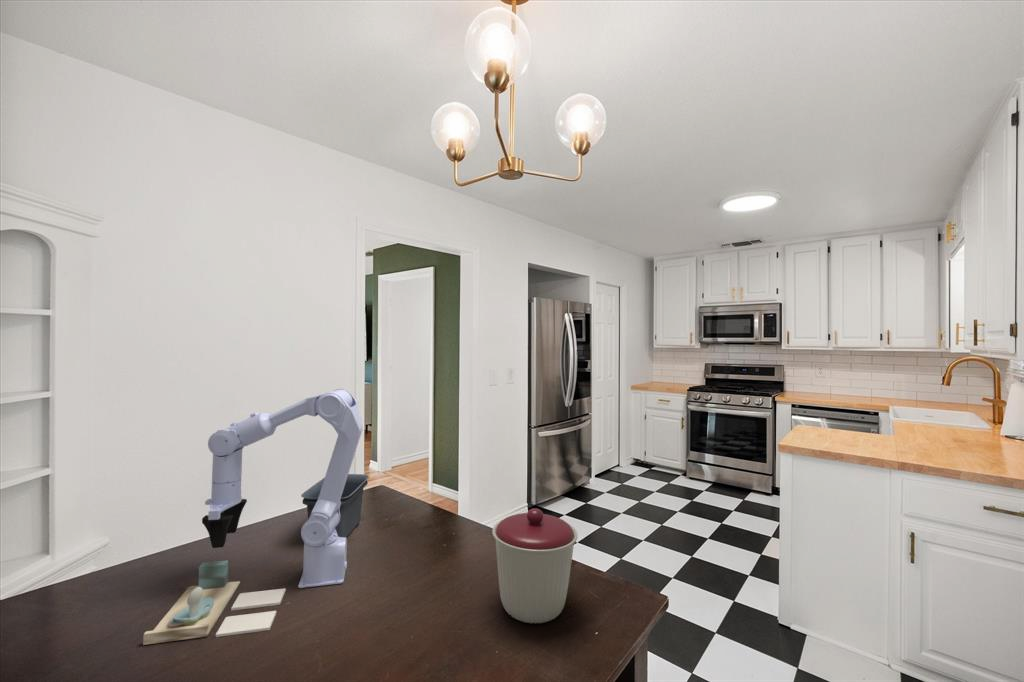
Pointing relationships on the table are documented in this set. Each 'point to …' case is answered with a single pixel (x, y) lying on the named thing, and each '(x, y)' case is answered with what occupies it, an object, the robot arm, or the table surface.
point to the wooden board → (213, 586)
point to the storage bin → (342, 502)
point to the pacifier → (193, 609)
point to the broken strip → (251, 621)
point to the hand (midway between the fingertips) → (224, 539)
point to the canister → (534, 564)
